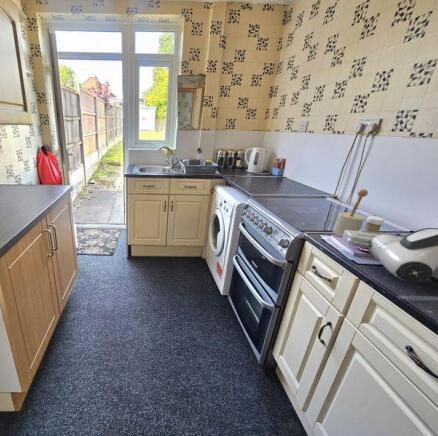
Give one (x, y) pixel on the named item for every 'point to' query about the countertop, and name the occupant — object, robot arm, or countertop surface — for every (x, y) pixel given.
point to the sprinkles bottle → (373, 225)
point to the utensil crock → (350, 218)
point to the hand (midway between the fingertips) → (369, 232)
